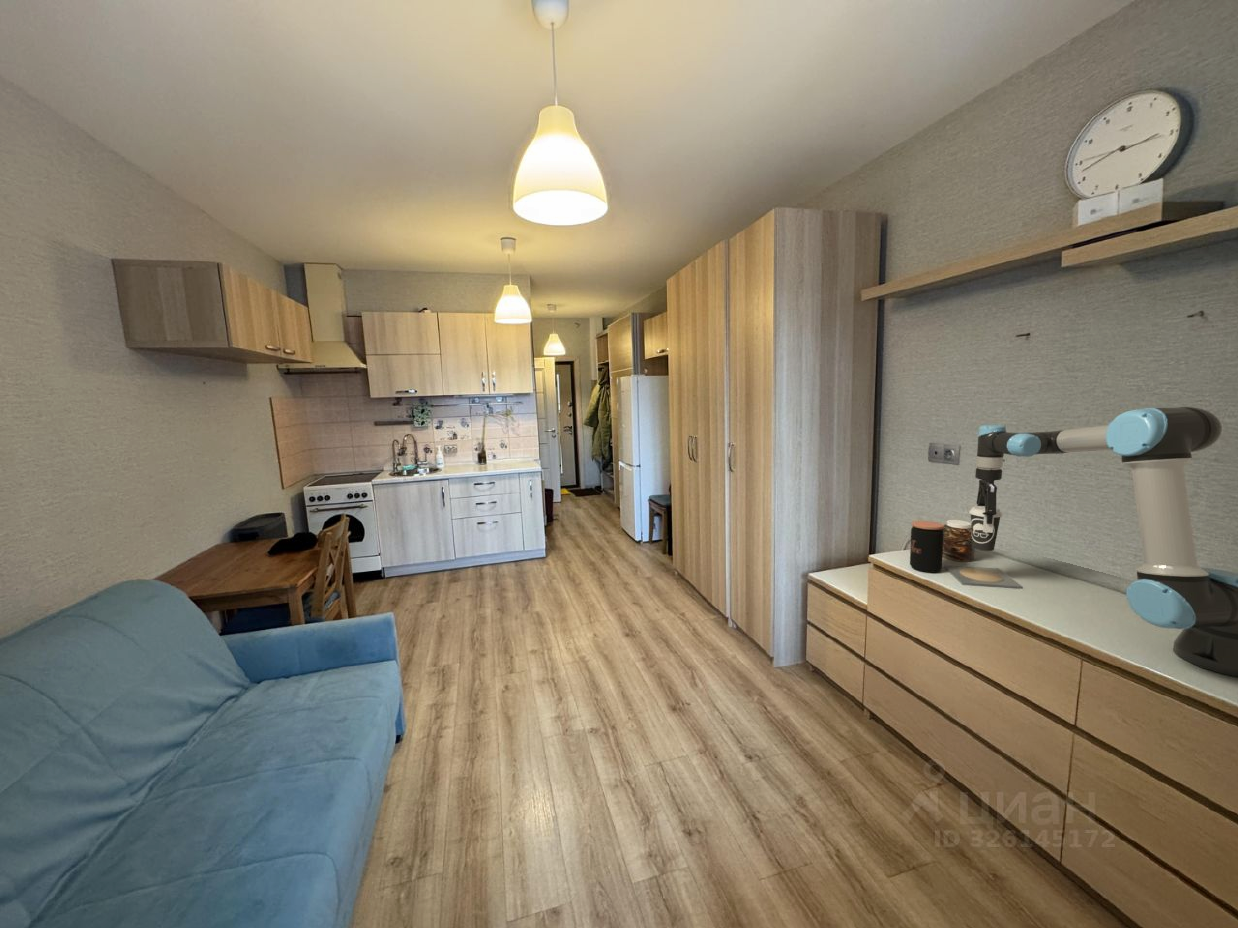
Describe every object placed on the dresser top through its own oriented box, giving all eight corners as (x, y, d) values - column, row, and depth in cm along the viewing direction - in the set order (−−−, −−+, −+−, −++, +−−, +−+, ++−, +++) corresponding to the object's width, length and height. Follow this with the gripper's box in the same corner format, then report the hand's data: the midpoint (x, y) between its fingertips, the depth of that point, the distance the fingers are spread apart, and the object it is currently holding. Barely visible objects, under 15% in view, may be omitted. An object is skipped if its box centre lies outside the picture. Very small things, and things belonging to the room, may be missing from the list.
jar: (976, 556, 196) (978, 521, 194) (972, 564, 187) (974, 527, 185) (942, 550, 204) (944, 517, 202) (937, 558, 195) (939, 523, 193)
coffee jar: (908, 562, 191) (909, 519, 189) (939, 565, 187) (941, 521, 185) (911, 571, 182) (913, 526, 180) (944, 574, 177) (946, 528, 175)
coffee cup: (1005, 552, 167) (1008, 511, 165) (975, 551, 169) (978, 511, 167) (990, 544, 176) (993, 505, 174) (961, 543, 178) (964, 505, 176)
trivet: (1022, 588, 163) (1023, 586, 163) (962, 584, 168) (962, 582, 168) (998, 570, 180) (998, 567, 180) (943, 566, 185) (944, 564, 185)
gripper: (1011, 473, 157) (1005, 537, 160) (994, 464, 177) (989, 521, 180) (983, 472, 160) (978, 535, 164) (969, 463, 180) (965, 519, 183)
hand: (984, 528), depth 172 cm, fingers closed on coffee cup, 9 cm apart
